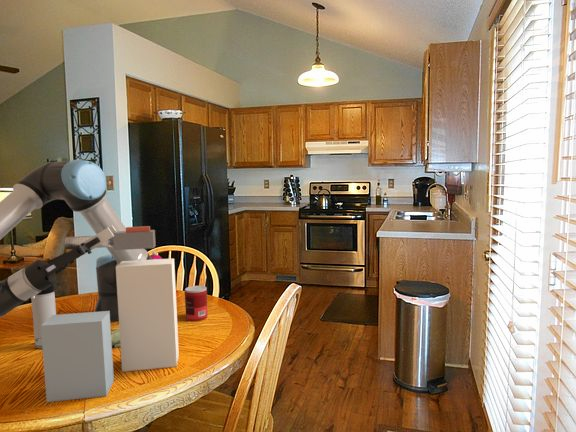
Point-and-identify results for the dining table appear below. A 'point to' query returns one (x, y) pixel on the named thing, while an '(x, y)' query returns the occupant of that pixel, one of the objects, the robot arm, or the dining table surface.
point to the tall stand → (147, 314)
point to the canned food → (196, 303)
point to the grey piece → (121, 239)
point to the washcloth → (115, 338)
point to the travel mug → (42, 312)
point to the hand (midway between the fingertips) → (112, 230)
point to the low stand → (77, 355)
